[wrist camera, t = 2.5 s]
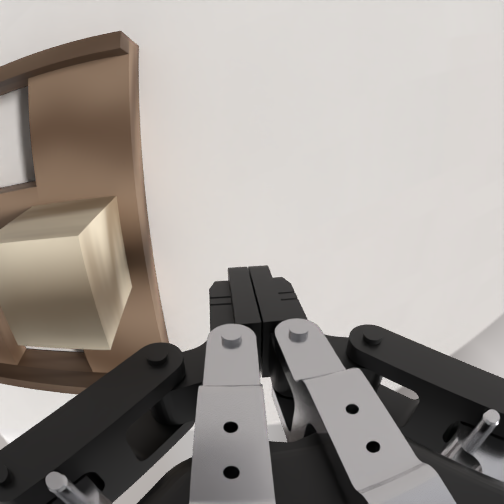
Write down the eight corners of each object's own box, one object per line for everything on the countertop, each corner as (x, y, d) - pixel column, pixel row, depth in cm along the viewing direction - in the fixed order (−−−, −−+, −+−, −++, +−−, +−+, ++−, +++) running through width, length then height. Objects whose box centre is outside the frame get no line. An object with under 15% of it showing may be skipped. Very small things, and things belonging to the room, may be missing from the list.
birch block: (32, 206, 13) (-21, 245, 9) (116, 195, 14) (78, 235, 9) (54, 289, 15) (18, 344, 11) (132, 286, 16) (110, 349, 11)
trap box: (-77, 122, 10) (-108, 130, 7) (138, 46, 13) (120, 30, 9) (-13, 350, 19) (-29, 376, 16) (172, 360, 21) (169, 398, 18)
